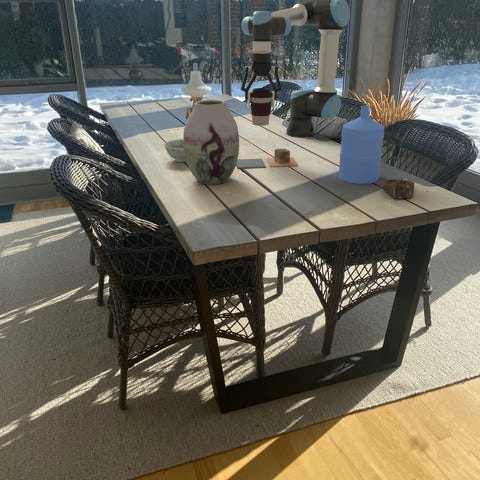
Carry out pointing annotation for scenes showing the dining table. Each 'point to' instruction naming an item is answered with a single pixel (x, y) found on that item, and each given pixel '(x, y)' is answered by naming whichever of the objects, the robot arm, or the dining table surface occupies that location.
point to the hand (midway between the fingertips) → (260, 107)
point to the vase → (211, 142)
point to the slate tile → (250, 163)
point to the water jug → (361, 149)
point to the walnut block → (282, 156)
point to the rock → (399, 188)
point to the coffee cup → (260, 106)
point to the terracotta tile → (275, 164)
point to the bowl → (176, 150)
